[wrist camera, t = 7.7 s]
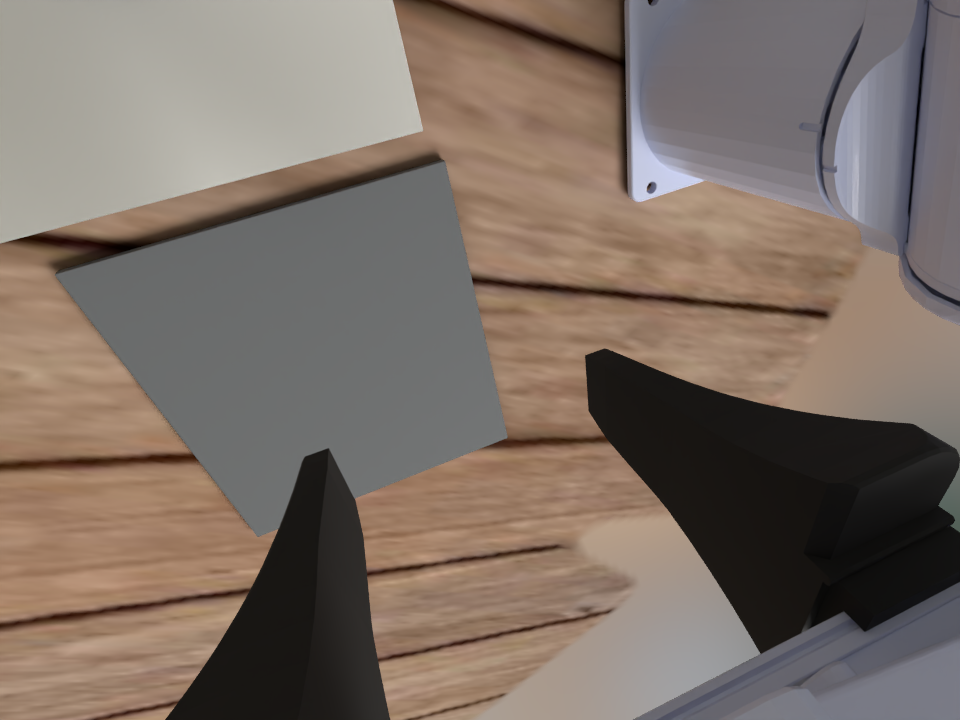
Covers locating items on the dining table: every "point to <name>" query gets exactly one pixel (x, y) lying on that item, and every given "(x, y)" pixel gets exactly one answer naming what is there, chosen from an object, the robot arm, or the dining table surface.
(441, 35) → the dining table surface
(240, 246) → the mat
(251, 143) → the lid
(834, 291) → the dining table surface
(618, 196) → the dining table surface
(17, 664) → the dining table surface
